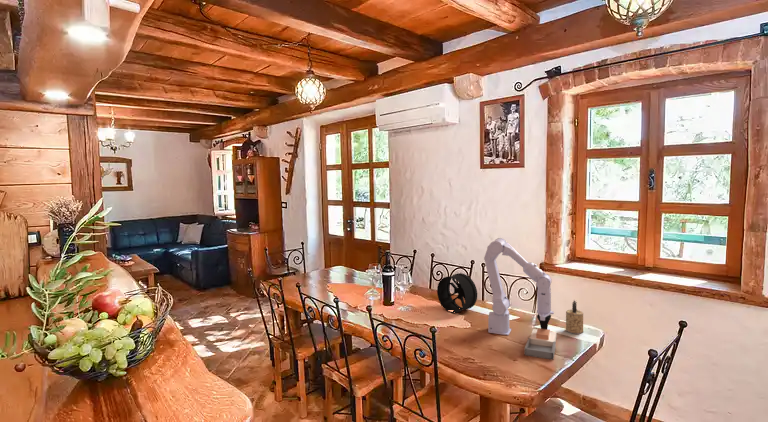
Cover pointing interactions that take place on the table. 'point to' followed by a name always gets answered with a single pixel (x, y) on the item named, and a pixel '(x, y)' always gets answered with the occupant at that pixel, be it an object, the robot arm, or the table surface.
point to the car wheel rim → (464, 291)
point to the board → (543, 341)
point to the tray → (539, 350)
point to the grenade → (574, 320)
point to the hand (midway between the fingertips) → (544, 330)
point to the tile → (543, 334)
